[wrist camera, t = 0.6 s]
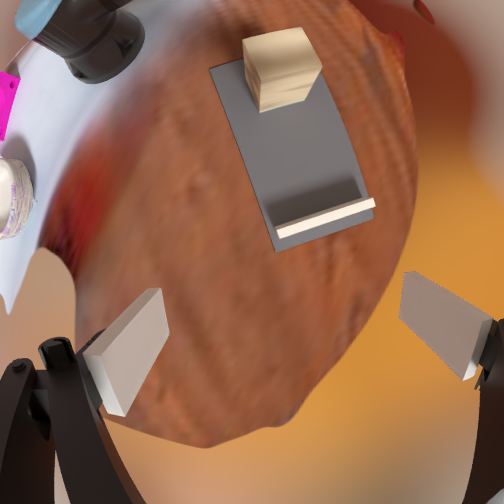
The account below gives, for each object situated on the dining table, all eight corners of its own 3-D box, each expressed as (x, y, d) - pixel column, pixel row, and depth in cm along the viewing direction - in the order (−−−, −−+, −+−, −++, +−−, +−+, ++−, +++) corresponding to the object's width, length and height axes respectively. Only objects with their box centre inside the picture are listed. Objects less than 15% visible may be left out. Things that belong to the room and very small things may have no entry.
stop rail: (274, 226, 39) (276, 230, 35) (362, 197, 38) (373, 197, 34) (277, 234, 39) (279, 238, 35) (364, 205, 38) (375, 206, 34)
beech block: (245, 80, 35) (242, 39, 23) (289, 68, 34) (301, 27, 22) (259, 113, 36) (261, 80, 24) (304, 100, 35) (322, 66, 23)
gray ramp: (209, 70, 35) (209, 69, 34) (305, 45, 33) (306, 44, 33) (275, 252, 40) (275, 252, 40) (373, 218, 39) (374, 218, 38)
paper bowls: (10, 154, 37) (-15, 152, 29) (50, 168, 37) (22, 166, 30) (-2, 221, 39) (-26, 226, 32) (35, 245, 40) (8, 253, 33)
